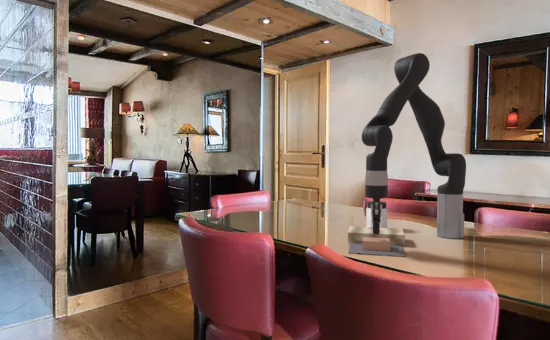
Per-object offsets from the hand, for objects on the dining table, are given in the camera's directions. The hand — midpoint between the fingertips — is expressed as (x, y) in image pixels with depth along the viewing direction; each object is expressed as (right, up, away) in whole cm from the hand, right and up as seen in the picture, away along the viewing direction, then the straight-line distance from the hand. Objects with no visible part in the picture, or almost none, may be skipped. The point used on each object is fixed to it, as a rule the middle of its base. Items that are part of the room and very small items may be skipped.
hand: (376, 233), depth 124 cm
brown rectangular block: (0, -2, +1) cm, 2 cm away
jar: (+10, -4, +36) cm, 37 cm away
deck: (+3, -5, +13) cm, 14 cm away
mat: (0, -6, 0) cm, 6 cm away
